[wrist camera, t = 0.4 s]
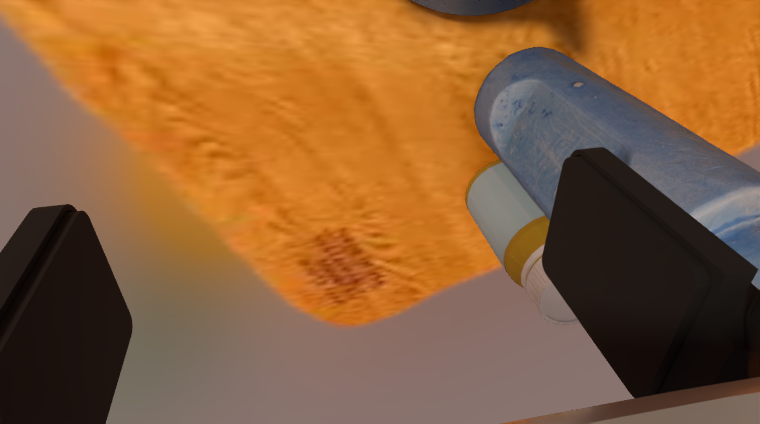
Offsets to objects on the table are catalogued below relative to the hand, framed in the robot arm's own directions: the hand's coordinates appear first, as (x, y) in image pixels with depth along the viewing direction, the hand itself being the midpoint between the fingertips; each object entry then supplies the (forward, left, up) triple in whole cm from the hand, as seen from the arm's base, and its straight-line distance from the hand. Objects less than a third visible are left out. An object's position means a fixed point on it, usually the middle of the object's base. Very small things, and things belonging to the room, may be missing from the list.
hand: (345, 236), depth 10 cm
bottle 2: (+10, +19, -30) cm, 37 cm away
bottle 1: (+18, +18, -30) cm, 39 cm away
